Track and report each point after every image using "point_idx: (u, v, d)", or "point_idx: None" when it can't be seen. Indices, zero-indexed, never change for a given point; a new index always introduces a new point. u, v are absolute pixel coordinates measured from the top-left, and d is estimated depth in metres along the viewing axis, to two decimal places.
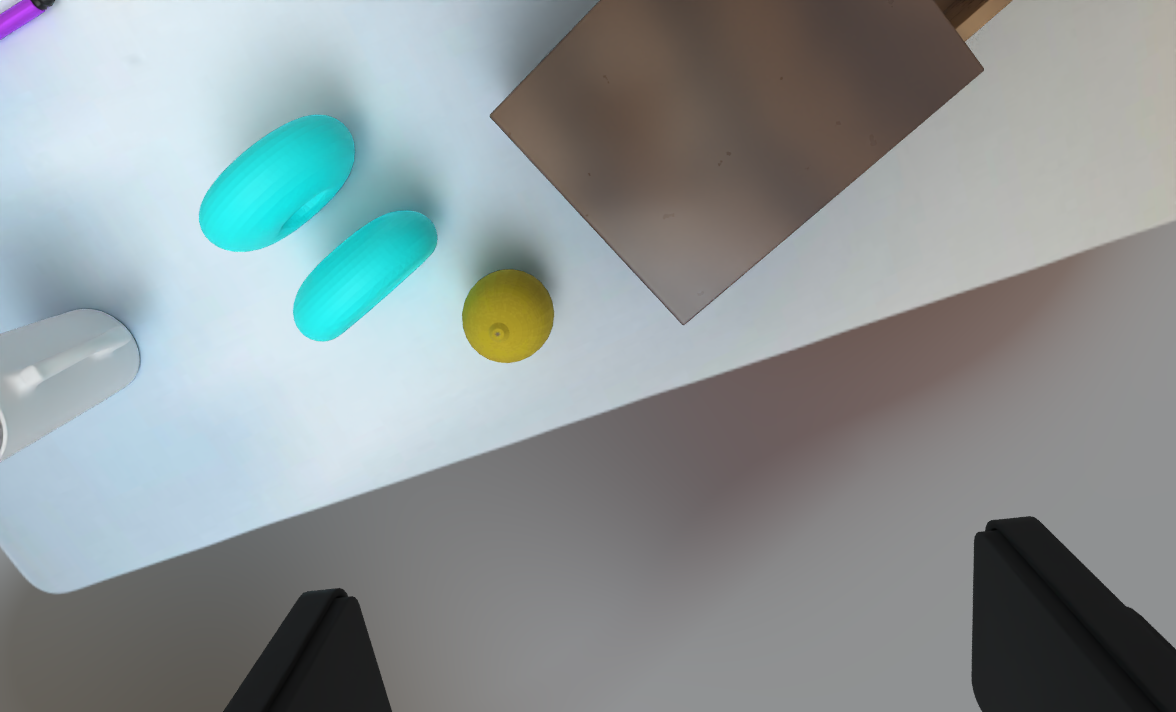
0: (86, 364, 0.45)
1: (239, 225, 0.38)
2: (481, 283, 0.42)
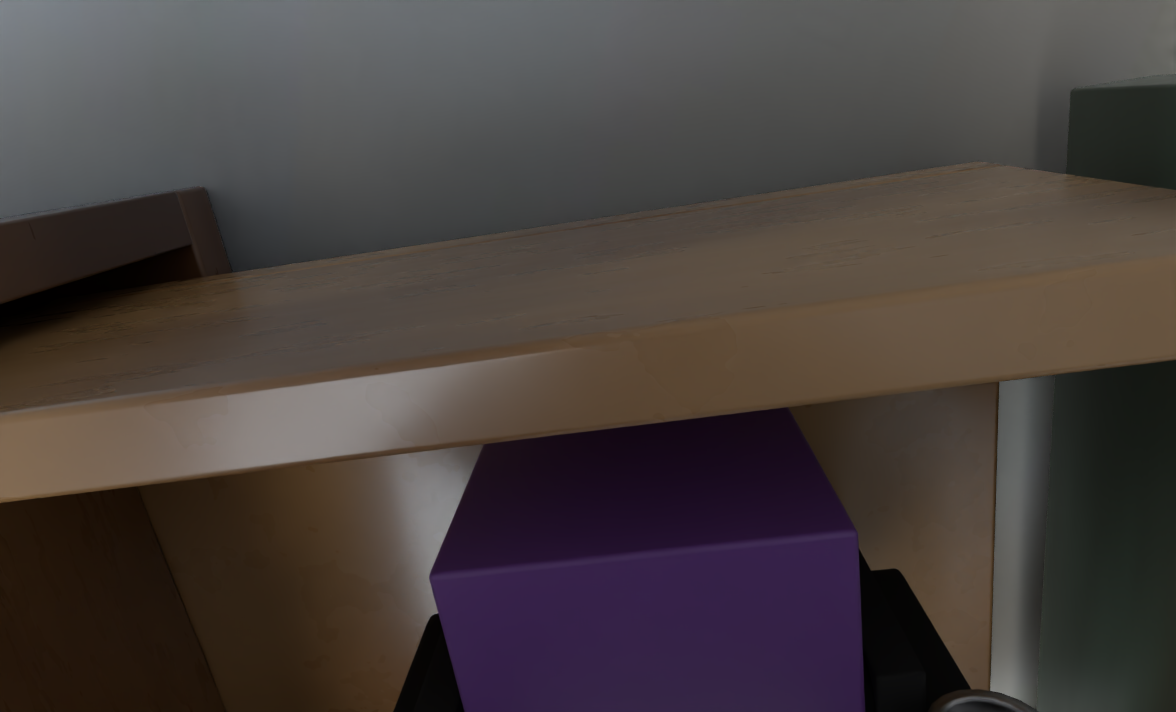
0: None
1: None
2: None
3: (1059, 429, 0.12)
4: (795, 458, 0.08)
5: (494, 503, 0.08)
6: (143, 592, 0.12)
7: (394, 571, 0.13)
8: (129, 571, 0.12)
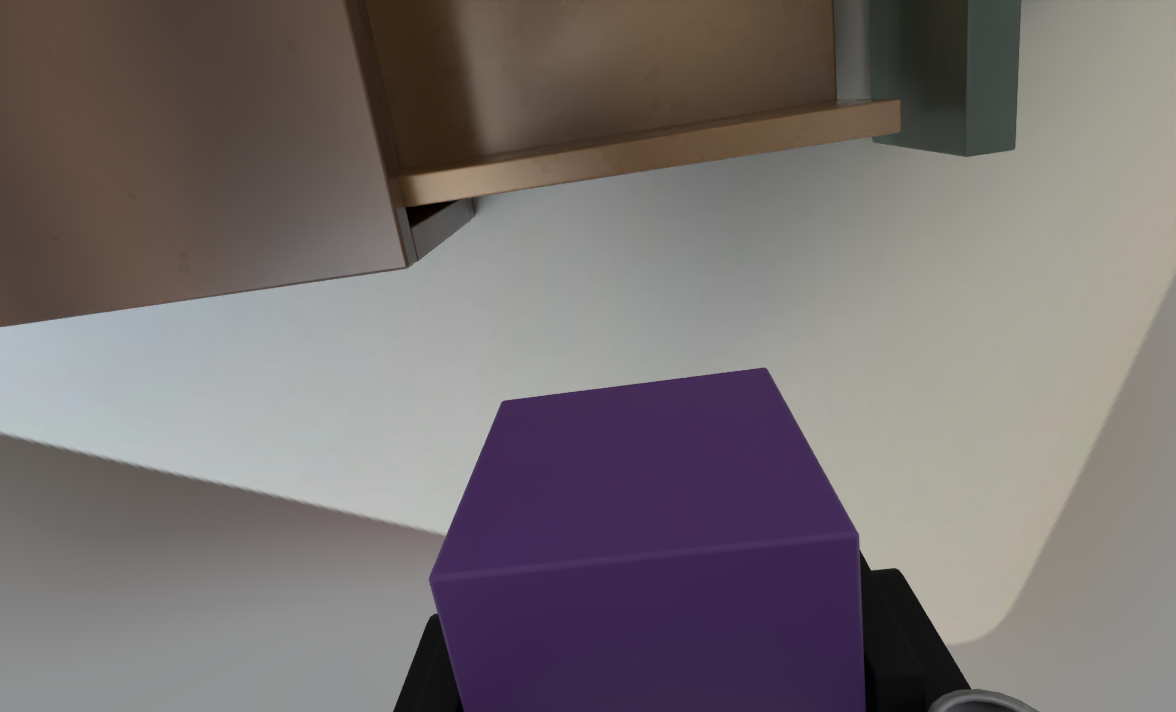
0: None
1: None
2: None
3: None
4: (795, 459, 0.08)
5: (494, 504, 0.08)
6: None
7: None
8: None
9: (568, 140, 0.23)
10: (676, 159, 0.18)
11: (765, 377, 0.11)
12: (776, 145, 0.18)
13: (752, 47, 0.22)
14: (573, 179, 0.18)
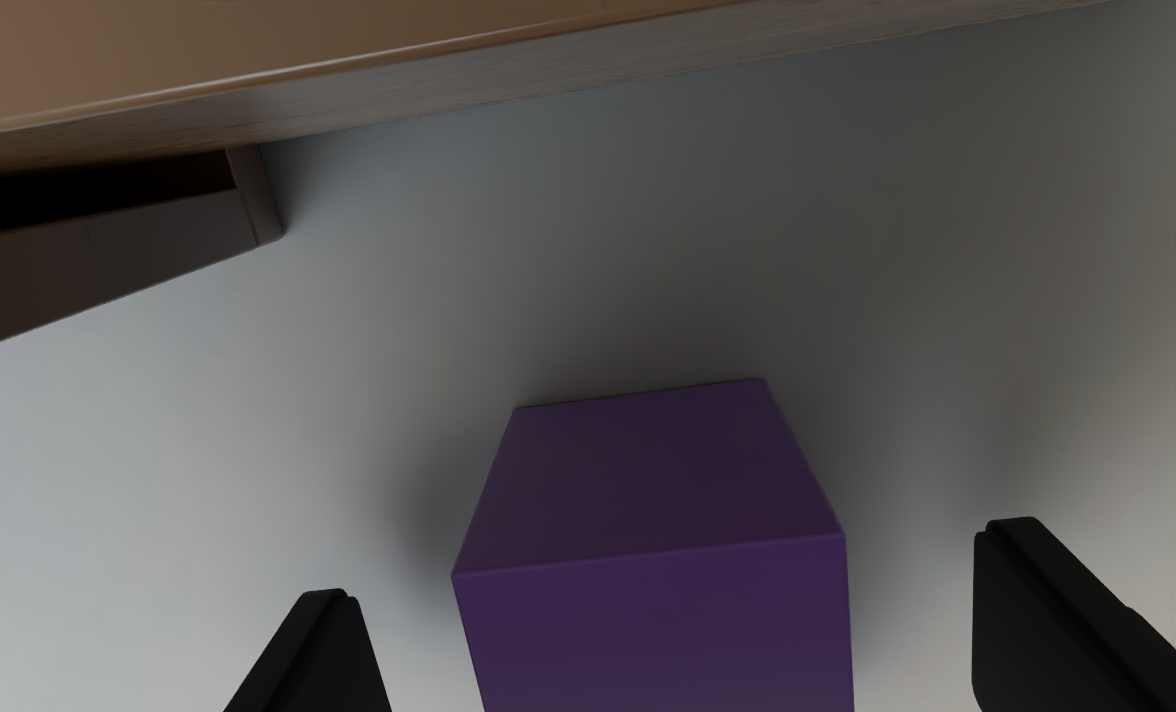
0: None
1: None
2: None
3: None
4: (789, 465, 0.09)
5: (508, 506, 0.09)
6: None
7: None
8: None
9: None
10: None
11: (762, 387, 0.11)
12: None
13: None
14: (360, 50, 0.03)
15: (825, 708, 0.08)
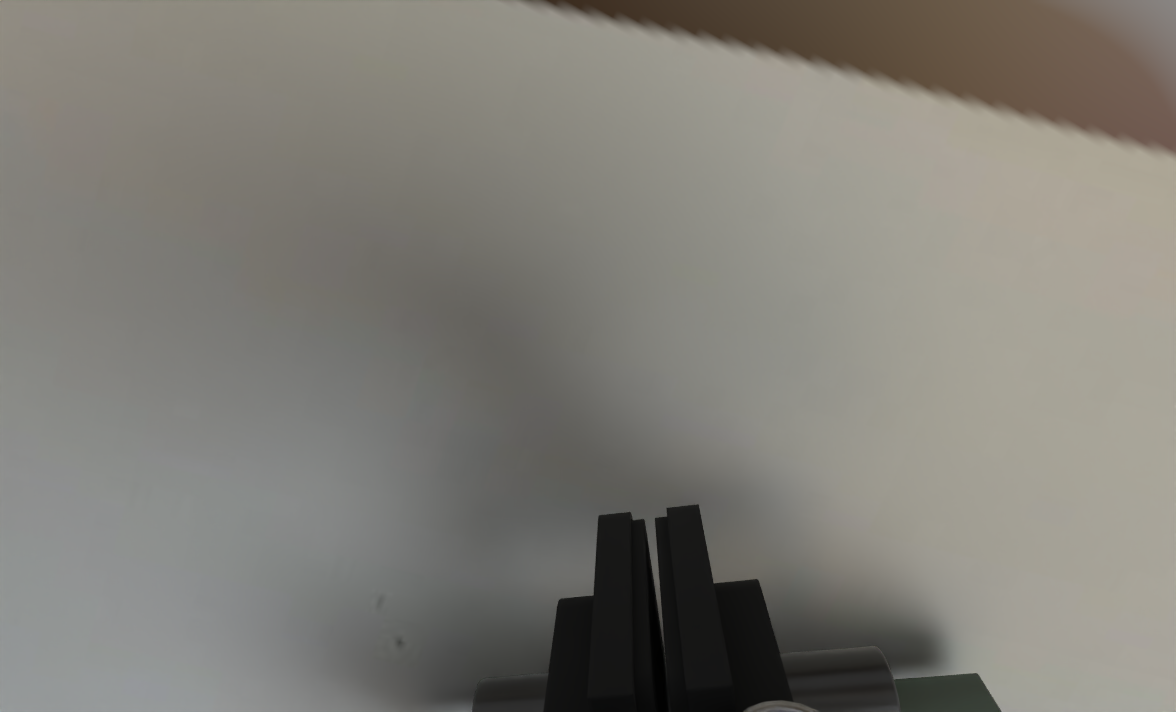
0: None
1: None
2: None
3: None
4: None
5: None
6: None
7: None
8: None
9: None
10: None
11: None
12: None
13: None
14: None
15: None
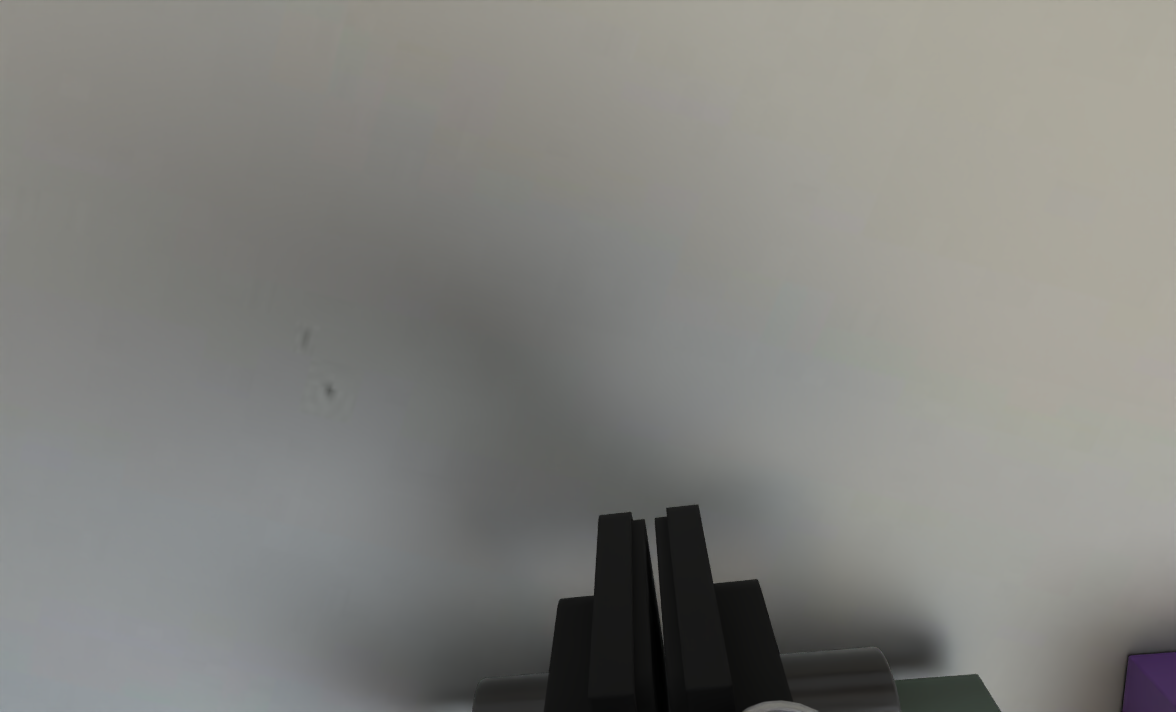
0: None
1: None
2: None
3: None
4: None
5: None
6: None
7: None
8: None
9: None
10: None
11: (1140, 672, 0.17)
12: None
13: None
14: None
15: None
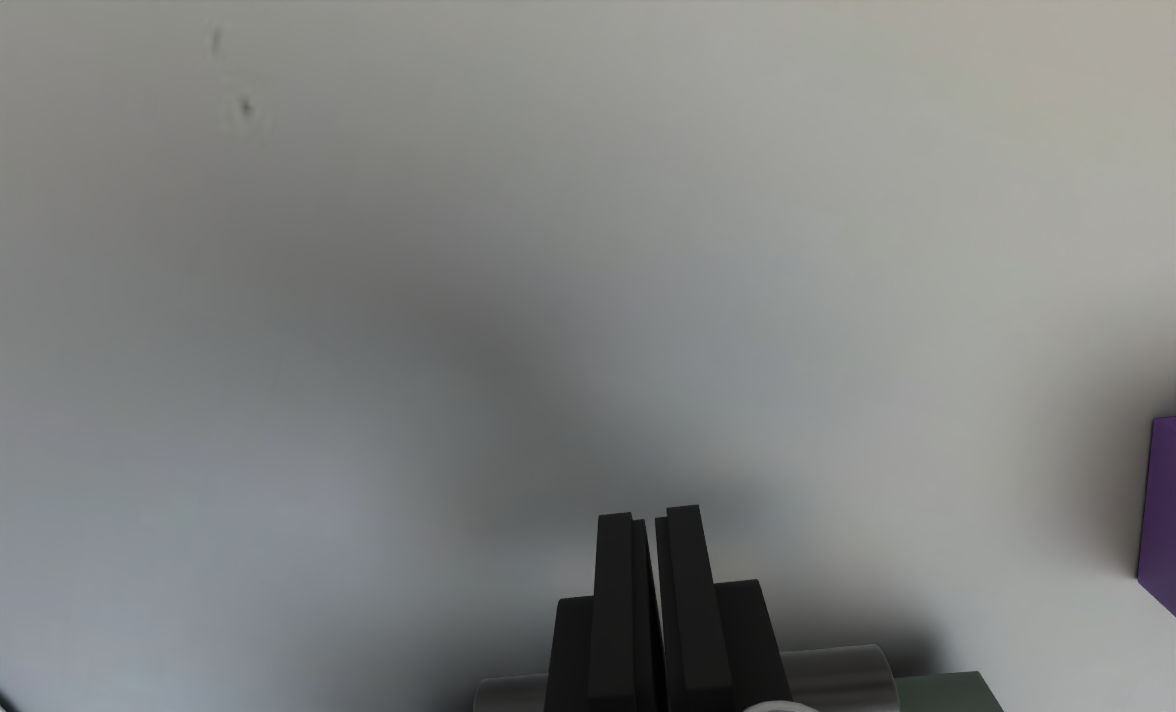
0: None
1: None
2: None
3: None
4: None
5: None
6: None
7: None
8: None
9: None
10: None
11: (1168, 431, 0.15)
12: None
13: None
14: None
15: None
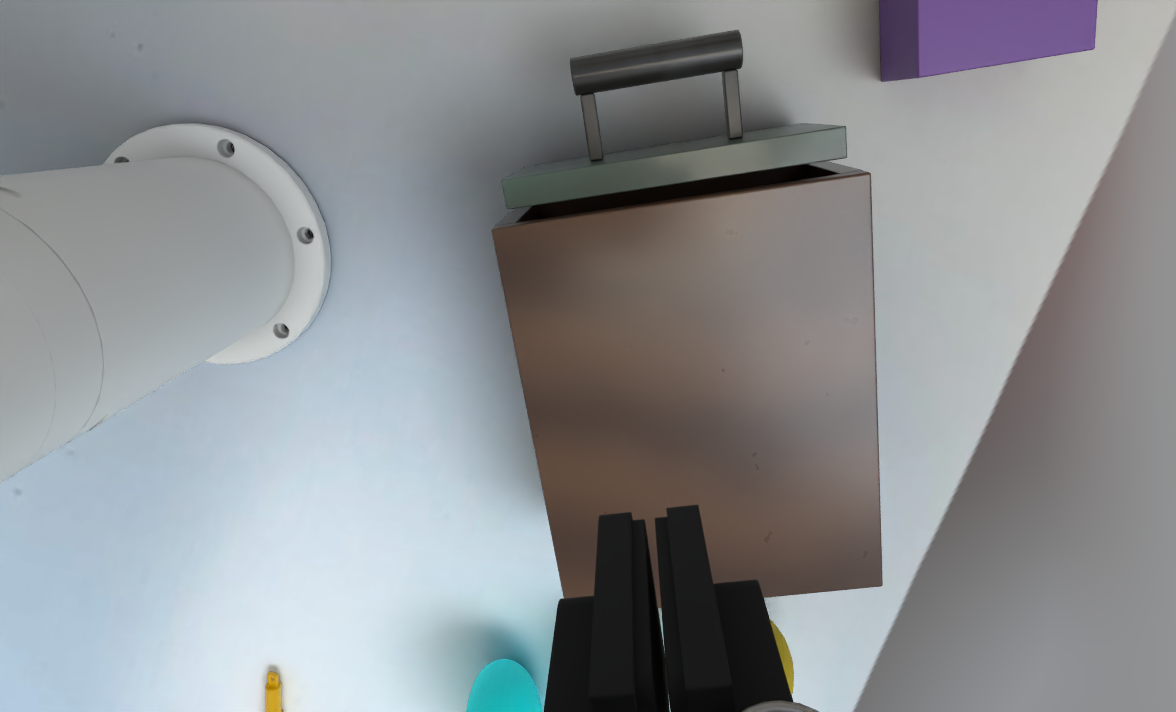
0: None
1: None
2: None
3: None
4: None
5: (906, 67, 0.31)
6: None
7: None
8: None
9: None
10: None
11: None
12: None
13: None
14: None
15: None
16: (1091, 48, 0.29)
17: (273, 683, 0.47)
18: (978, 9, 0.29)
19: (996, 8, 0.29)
